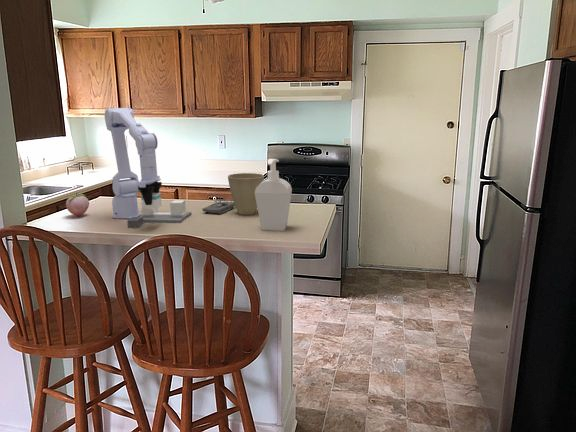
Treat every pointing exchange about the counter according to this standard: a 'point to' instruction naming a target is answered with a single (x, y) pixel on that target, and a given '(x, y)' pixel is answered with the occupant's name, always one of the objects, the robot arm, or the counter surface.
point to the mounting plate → (167, 213)
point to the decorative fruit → (77, 204)
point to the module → (155, 201)
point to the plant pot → (244, 191)
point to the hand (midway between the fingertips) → (151, 203)
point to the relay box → (135, 222)
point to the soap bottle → (273, 200)
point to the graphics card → (220, 206)
